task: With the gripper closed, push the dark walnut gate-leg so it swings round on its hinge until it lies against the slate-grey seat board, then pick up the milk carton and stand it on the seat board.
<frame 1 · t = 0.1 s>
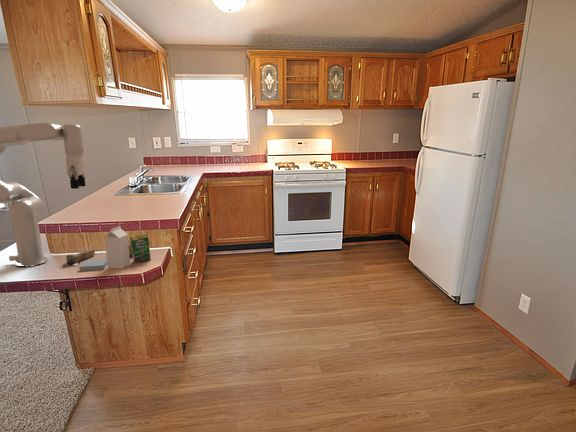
hand: (78, 187, 163), 37 cm above the countertop, tool pointing down, fingers open, 9 cm apart
coffee box: (141, 261, 169), on the countertop
seat board: (94, 266, 160), on the countertop
potato: (131, 255, 179), on the countertop
hinge plate: (71, 264, 163), on the countertop
milk carton: (119, 266, 161), on the countertop
leg: (80, 255, 168), point 2 cm above the countertop, hinge at 65.0°
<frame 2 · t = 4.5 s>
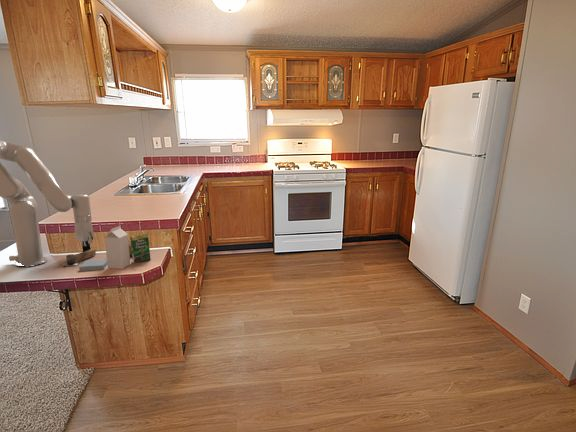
hand: (87, 252, 176), 2 cm above the countertop, tool pointing down, fingers closed
leg: (81, 255, 168), point 2 cm above the countertop, hinge at 62.3°, touching gripper
everything else where it was.
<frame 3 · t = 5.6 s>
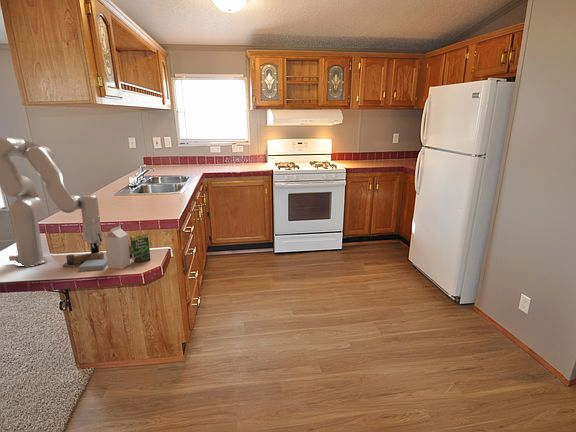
hand: (95, 255, 172), 2 cm above the countertop, tool pointing down, fingers closed
leg: (85, 257, 166), point 2 cm above the countertop, hinge at 24.3°, touching gripper
everything else where it was.
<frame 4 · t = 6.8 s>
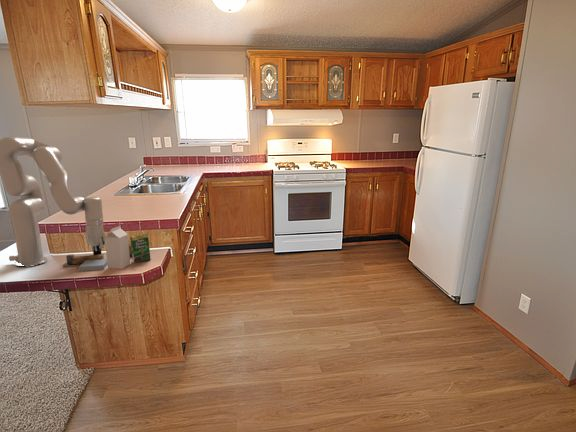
hand: (97, 257, 169), 1 cm above the countertop, tool pointing down, fingers closed
leg: (85, 258, 164), point 2 cm above the countertop, hinge at 3.6°, touching gripper
everything else where it was.
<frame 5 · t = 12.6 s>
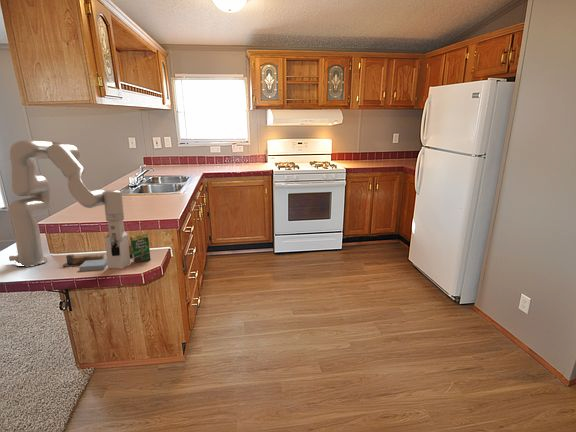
hand: (118, 252, 160), 7 cm above the countertop, tool pointing down, fingers closed on milk carton, 8 cm apart
milk carton: (119, 266, 161), on the countertop, touching gripper
leg: (85, 258, 164), point 2 cm above the countertop, hinge at 3.3°
everything else where it was.
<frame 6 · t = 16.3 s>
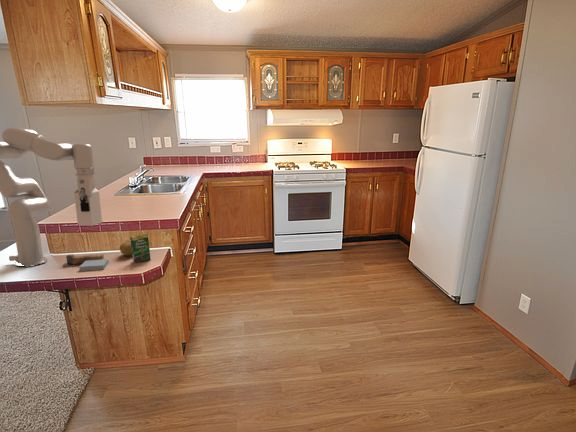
hand: (88, 209, 154), 28 cm above the countertop, tool pointing down, fingers closed on milk carton, 8 cm apart
milk carton: (90, 224, 156), point 21 cm above the countertop, touching gripper
everything else where it was.
when the fingers open (10 cm above the countertop, at t = 20.0 s): milk carton drops 1 cm, resting on seat board.
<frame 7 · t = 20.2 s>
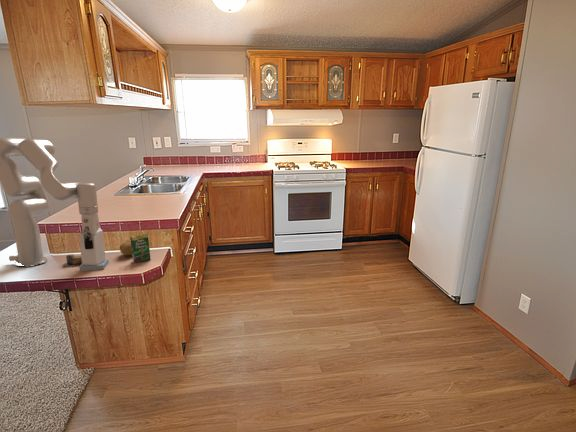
hand: (92, 246, 158), 10 cm above the countertop, tool pointing down, fingers open, 9 cm apart
milk carton: (94, 263, 160), point 2 cm above the countertop, touching seat board
everything else where it was.
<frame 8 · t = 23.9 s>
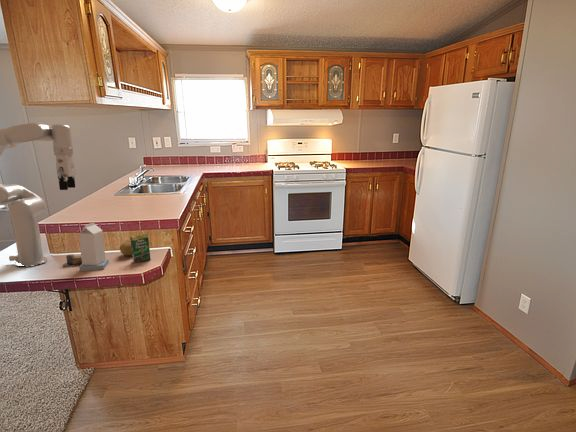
hand: (67, 188, 160), 36 cm above the countertop, tool pointing down, fingers open, 9 cm apart
nothing on the countertop moved.
at the end: leg at +3° (first picture: +65°); milk carton inside the target area on the seat board (0.3 cm from its centre), point 1.8 cm above the seat board's base; milk carton tilted 0° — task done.
